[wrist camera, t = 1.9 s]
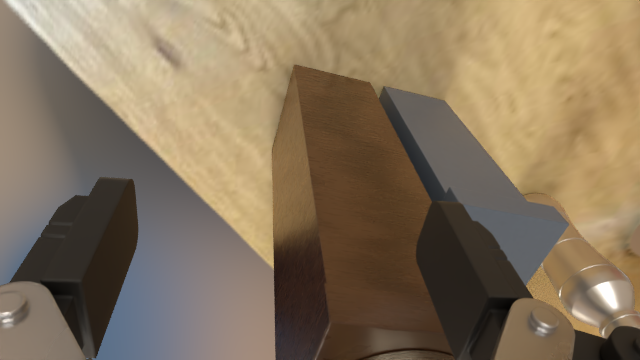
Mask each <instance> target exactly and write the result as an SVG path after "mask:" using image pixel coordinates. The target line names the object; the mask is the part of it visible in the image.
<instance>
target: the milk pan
mask: <svg viewBox="0 0 640 360" xmlns="http://www.w3.org/2000/svg"><path fill="white" fill-rule="evenodd" d="M362 360H455V359H454V356H452V355H449V354H445V353H441V352H435V351H428V350H403V351H395V352H389V353H384V354H379V355H375V356H372V357H368V358H365V359H362Z"/></svg>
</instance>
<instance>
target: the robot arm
mask: <svg viewBox="0 0 640 360" xmlns="http://www.w3.org/2000/svg"><path fill="white" fill-rule="evenodd" d="M137 240H138V219H137V207H136V195H135V185H134V181H133V180H132V179H122V178H108V177H100V178H99V179H98V181H97V182H96V184H95V186H94V188H93V189H92V191H91V193H90V195H89V196H79V195H78V196H77V195H75V196H74V197H73V198H71V199H70V200H68V201H67V202H65V203H64V204H63V205H61V206H60V207H58V209H57V210H56V212H55V213H54V215H53V217H52V218H51V220H50V221H49V225H47V226H46V227H45V229H44V230H43V232H42V233H41V237H39V238H38V240H37V241H36V243H35V244H34V246H33V247H32V249H31V250H30V252H29V253H28V255H27V256H26V258H25V259H24V261H23V263H22V264H21V266H20V267H19V269H18V270H17V272H16V273H15V275H14V276H13V278H12V280H11V281H10V282H9V283H7V284H4V285H1V286H0V360H92V359H91V358H96V356H97V354H98V351H99V348H100V346H101V343H102V340H103V337H104V334H105V332H106V329H107V326H108V324H109V321H110V318H111V315H112V313H113V310H114V307H115V305H116V302H117V299H118V296H119V294H120V291H121V288H122V285H123V283H124V280H125V277H126V274H127V272H128V269H129V266H130V263H131V261H132V258H133V255H134V252H135V250H136V246H137ZM416 260H417V264H418V267H419V269H420V272H421V274H422V277H423V280H424V282H425V285H426V287H427V290H428V292H429V295H430V297H431V300H432V303H433V305H434V308H435V310H436V313H437V315H438V318H439V320H440V323H441V326H442V328H443V331H444V333H445V336H446V338H447V341H448V344H449V346H450V349H451V351H452V354H453V356H454V359H455V360H640V329H639V328H635V327H632V326H619V327H616V328H615V329H614V330H613V331H612V332H611V334H610V335H609V336H608V338H607V339H606V338H602V337H599V336H595V335H592V334H588V333H585V332H581V331H578V330H575V329H574V328H573V326H572V324H571V323H570V321H569V320H568V319H567V318H566V317H565V316H564V315H563V314H562V313H561V312H560V311H559V310H557V309H556V308H554V307H553V306H551V305H549V304H548V303H545V302H543V301H540V300H537V299H534V298H533V297H532V295H531V294H530V292H529V291H528V289H527V287H526V286H525V284H524V283H523V281H522V280H521V278H520V277H519V275H518V273H517V272H516V270H515V269H514V267H513V266H512V264H511V262H510V261H508V260H507V256H506V255H505V253H504V251H503V250H501V249H500V245H499V244H498V242H497V240H496V239H495V237H494V236H493V234H492V233H491V232H490V231H489V230H487V229H486V228H485V227H484V226H483V225H482V224H480V223H479V222H478V221H473V220H472V219H471V217H470V215H469V214H468V212H467V211H466V209H465V207H464V206H463V204H462V203H460V202H446V201H433V202H432V203H431V205H430V207H429V209H428V212H427V215H426V218H425V221H424V224H423V227H422V230H421V233H420V235H419V238H418V241H417V246H416ZM86 358H89V359H86Z"/></svg>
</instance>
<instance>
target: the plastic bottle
mask: <svg viewBox="0 0 640 360" xmlns="http://www.w3.org/2000/svg"><path fill="white" fill-rule="evenodd" d="M523 197H524V198H525V199H526V200H527V201H528V202H533V203H539V204H544V205H549V206H554V207H555V208H556V210H557V211H558V212H559V213H560V214H561V215H562V216H563V217H564V219H565V220H566V221H567V222H568V223H569V226H568V227H567V229H566V230H565V232H564V233H563V234H562V236H561V237H560V239H559V240H558V241H557V243H556V244H555V245H554V247H553V248H552V250H551V251H550V252H549V254H548V255H547V257H546V258H545V259H544V261H543V262H542V264H541V267H542V269H543V270H544V272H545V273H546V275H547V276H548V278H549V279H550V281H551V283H552V285H553V287H554V289H555V291H556V293H557V295H558V297H559V299H560V300H561V303H562V304H563V306H564V308H565V309H566V311H567V312H568V313H569V314H570V315H572V316H573V317H574V318H576V319H577V320H579V321H581V322H583V323H586V324H588V325H591V326H594V327H597V328H599V333H600V335H601V336H602V337H603V338H606V339H607V338H608V336H609V335H610V334H611V332H612V331H613V330H614V329H615V328H616V327H619V326H632V327H635V328H639V329H640V313H639V312H637V311H634V305H635V295H634V288H633V286H632V283H631V281H630V279H629V277H627V276H626V275H625V274H624V273H623V272H622V271H621V270H620V269H618V268H617V267H616V266H615V265H613V264H612V263H611V262H610V261H608V260H607V259H606V258H605V257H603V256H602V255H601V254H600V253H599V252H597V251H596V250H595V249H594V248H593V247H592V246H591V245H590V244H589V243H588V242H587V241H586V240H585V239H584V238H583V237H582V236H581V234H580V233H579V232H578V230H577V229H576V228H575V226H574V225H573V224H572V222H571V221H570V220H569V217H568V215H567V213H566V212H565V210H564V209H563V207H562V206H561V204H560V203H559V202H558V201H556V200H555V199H553V198H552V197H550V196H548V195H546V194H540V193H532V194H527V195H524V196H523Z"/></svg>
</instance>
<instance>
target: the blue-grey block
mask: <svg viewBox="0 0 640 360" xmlns="http://www.w3.org/2000/svg"><path fill="white" fill-rule="evenodd" d="M379 101H380V103H381V105H382V107H383V109H384V110H385V112H386V114H387V116H388V118H389V120H390V122H391V124H392V126H393V128H394V130H395V132H396V134H397V135H398V137H399V139H400V141H401V143H402V145H403V147H404V149H405V151H406V153H407V155H408V157H409V159H410V161H411V162H412V164H413V166H414V168H415V170H416V172H417V174H418V176H419V178H420V180H421V182H422V184H423V186H424V187H425V189H426V191H427V193H428V195H429V197H430V199H431V201H432V202H433V201H446V202H460V203H462V204H463V206H464V207H465V209H466V211H467V212H468V214H469V215H470V217H471V219H472V220H473V221H478V222H479V223H480V224H482V225H483V226H484V227H485V228H486V229H487V230H489V231H490V232H491V233H492V234H493V236H494V237H495V239H496V240H497V242H498V244H499V245H500V249H501V250H503V251H504V253H505V255H506V256H507V260H508V261H510V262H511V264H512V266H513V267H514V269H515V270H516V272H517V273H518V275H519V277H520V278H521V280H522V281H523V283H524V284H525V286H526V285H527V283H528V282H529V280H530V279H531V278H532V276H533V275H534V273H535V272H536V271H537V269H538V268H539V266H540V265H541V264H542V262H543V261H544V259H545V258H546V257H547V255H548V254H549V252H550V251H551V250H552V248H553V247H554V245H555V244H556V243H557V241H558V240H559V239H560V237H561V236H562V234H563V233H564V232H565V230H566V229H567V227H568V226H569V223H568V222H567V221H566V220H565V219H564V217H563V216H562V215H561V214H560V213H559V212H558V211H557V210H556V208H555V207H554V206H549V205H544V204H539V203H533V202H528V201H527V200H526V199H525V198H524V197H523V195H522V194H521V193H520V192H519V191H518V189H517V188H516V187H515V186H514V184H513V183H512V182H511V181H510V180H509V178H508V177H507V176H506V175H505V173H504V172H503V171H502V170H501V169H500V167H499V166H498V165H497V164H496V163H495V161H494V160H493V159H492V158H491V156H490V155H489V154H488V153H487V152H486V150H485V149H484V148H483V147H482V145H481V144H480V143H479V142H478V141H477V139H476V138H475V137H474V136H473V135H472V133H471V132H470V131H469V130H468V128H467V127H466V126H465V125H464V124H463V122H462V121H461V120H460V119H459V118H458V116H457V115H456V114H455V113H454V111H453V110H452V109H451V108H450V107H449V105H448V104H447V103H446V102H445V101H444V100H440V99H435V98H431V97H427V96H423V95H419V94H415V93H411V92H406V91H402V90H398V89H394V88H390V87H386V86H384V88H383V90H382V93H381V96H380V98H379Z"/></svg>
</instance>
